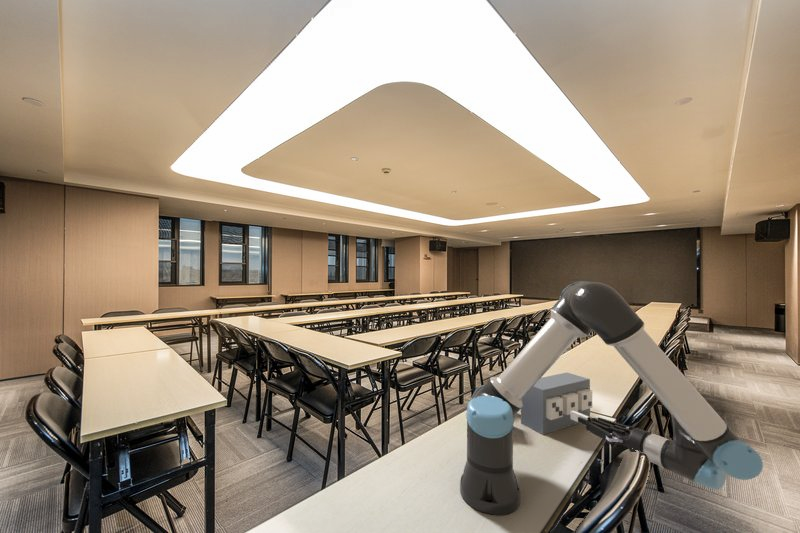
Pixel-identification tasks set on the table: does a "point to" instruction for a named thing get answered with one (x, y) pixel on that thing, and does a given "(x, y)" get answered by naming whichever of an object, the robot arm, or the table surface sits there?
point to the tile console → (546, 388)
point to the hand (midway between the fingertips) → (571, 414)
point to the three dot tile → (554, 407)
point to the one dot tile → (570, 402)
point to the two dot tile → (584, 399)
